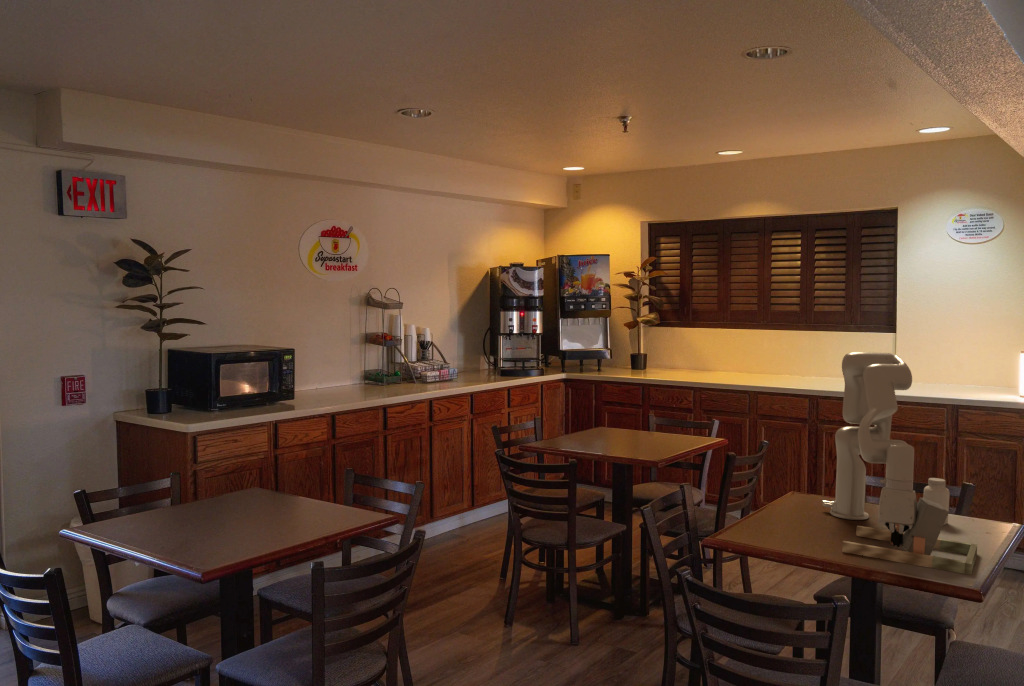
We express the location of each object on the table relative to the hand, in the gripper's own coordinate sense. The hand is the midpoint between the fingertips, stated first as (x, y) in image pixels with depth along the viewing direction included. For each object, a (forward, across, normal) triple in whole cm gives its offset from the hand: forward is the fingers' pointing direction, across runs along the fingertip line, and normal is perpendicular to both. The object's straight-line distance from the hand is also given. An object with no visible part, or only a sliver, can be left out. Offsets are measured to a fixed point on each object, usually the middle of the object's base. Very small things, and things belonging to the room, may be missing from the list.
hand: (896, 545), depth 242 cm
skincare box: (+1, +5, 0) cm, 5 cm away
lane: (+2, +3, +1) cm, 3 cm away
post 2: (+2, +7, -6) cm, 10 cm away
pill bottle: (+2, +5, +47) cm, 47 cm away
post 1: (+2, -2, +8) cm, 9 cm away
